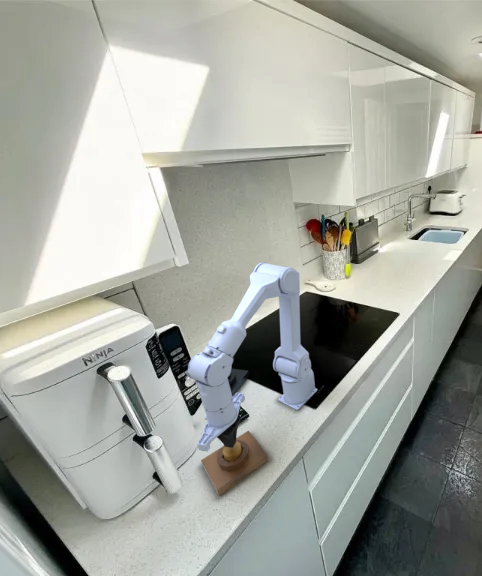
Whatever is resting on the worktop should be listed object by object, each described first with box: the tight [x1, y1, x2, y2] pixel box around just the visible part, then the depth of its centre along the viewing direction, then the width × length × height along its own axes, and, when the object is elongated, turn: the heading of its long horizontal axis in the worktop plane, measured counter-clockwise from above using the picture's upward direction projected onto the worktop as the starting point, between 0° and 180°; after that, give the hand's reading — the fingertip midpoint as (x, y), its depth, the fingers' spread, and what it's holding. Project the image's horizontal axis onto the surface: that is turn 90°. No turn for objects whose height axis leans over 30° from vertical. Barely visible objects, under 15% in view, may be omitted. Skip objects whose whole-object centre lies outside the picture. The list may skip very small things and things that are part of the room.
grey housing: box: [228, 368, 250, 397], centre depth 98 cm, size 12×10×4 cm
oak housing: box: [200, 430, 269, 497], centre depth 75 cm, size 12×10×4 cm
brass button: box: [223, 442, 242, 461], centre depth 73 cm, size 4×4×2 cm
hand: (230, 444), depth 73 cm, fingers closed
